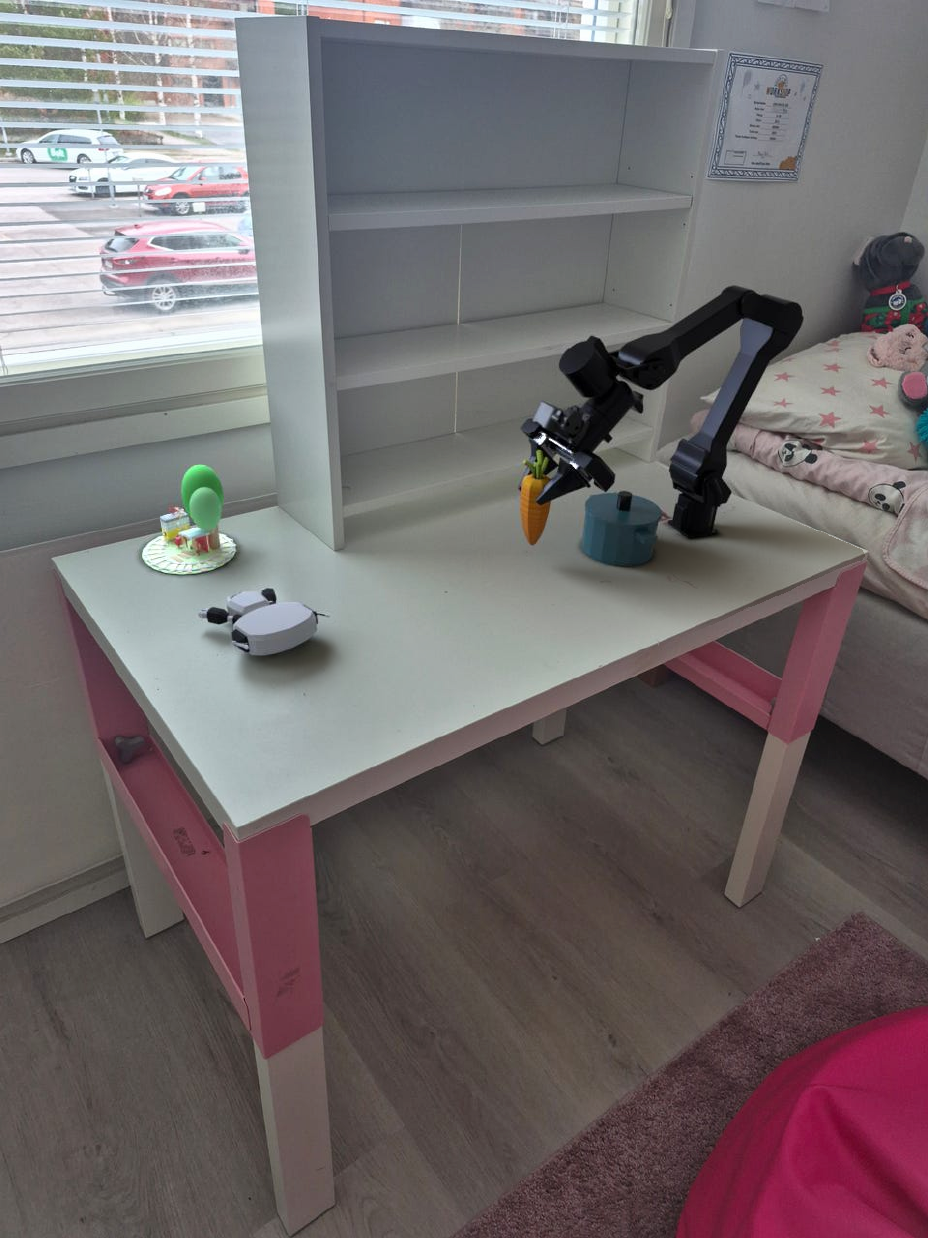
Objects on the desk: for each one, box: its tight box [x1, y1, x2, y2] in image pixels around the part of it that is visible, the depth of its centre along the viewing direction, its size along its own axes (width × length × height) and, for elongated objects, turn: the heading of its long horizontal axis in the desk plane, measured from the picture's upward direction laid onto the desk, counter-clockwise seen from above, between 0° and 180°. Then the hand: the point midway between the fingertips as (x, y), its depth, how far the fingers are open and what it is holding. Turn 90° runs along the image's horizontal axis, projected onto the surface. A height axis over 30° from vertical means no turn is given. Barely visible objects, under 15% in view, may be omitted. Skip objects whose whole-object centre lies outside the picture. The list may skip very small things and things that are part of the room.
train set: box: [141, 464, 237, 575], centre depth 130 cm, size 15×14×14 cm
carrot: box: [519, 450, 552, 547], centre depth 130 cm, size 5×5×15 cm
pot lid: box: [584, 490, 663, 528], centre depth 137 cm, size 12×12×4 cm
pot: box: [581, 494, 660, 567], centre depth 139 cm, size 11×17×7 cm
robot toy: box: [197, 587, 331, 656], centre depth 113 cm, size 12×4×15 cm
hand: (528, 496), depth 129 cm, fingers closed on carrot, 5 cm apart
